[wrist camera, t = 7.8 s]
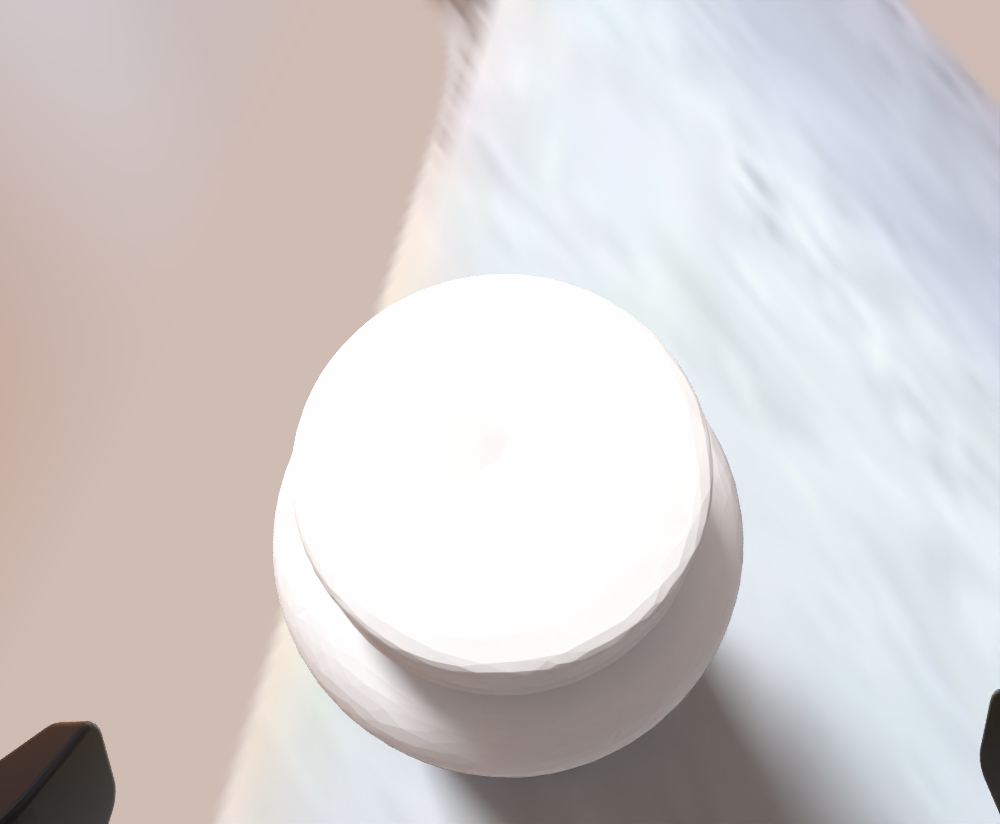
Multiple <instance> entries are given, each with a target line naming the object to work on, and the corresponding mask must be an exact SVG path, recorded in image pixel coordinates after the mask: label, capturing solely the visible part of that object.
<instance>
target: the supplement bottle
mask: <svg viewBox="0 0 1000 824" xmlns="http://www.w3.org/2000/svg"><path fill="white" fill-rule="evenodd" d="M273 555H274V556H273V557H274V572H275V580H276V587H277V591H278V596H279V600H280V604H281V607H282V611H283V614H284V618H285V621H286V623H287V626H288V629H289V632H290V634H291V636H292V638H293V640H294V642H295V645H296V647H297V649H298V652H299V654H300V655H301V657H302V658H303V660H304V661H305V663H306V665H307V667H308V668H309V670H310V671H311V673H312V674H313V676H314V677H315V679H316V680H317V682H318V683H319V684H320V686H321V687H322V688H323V689H324V691H325V692H326V693H327V694H328V695H329V696H330V697H331V698H332V699H333V701H334V702H335V703H336V704H337V705H338V706H339V707H340V708H341V709H342V710H343V711H344V712H345V713H346V714H347V715H348V716H349V717H350V718H351V719H352V720H354V721H355V722H356V723H357V724H359V725H360V726H361V727H362V728H364V729H365V730H366V731H367V732H369V733H370V734H372V735H374V736H375V737H377V738H378V739H380V740H381V741H383V742H384V743H386V744H387V745H389V746H391V747H393V748H395V749H397V750H399V751H400V752H402V753H404V754H406V755H408V756H411V757H413V758H415V759H418V760H420V761H422V762H425V763H428V764H431V765H434V766H437V767H440V768H443V769H447V770H452V771H456V772H461V773H465V774H472V775H481V776H489V777H512V778H522V777H532V776H539V775H546V774H553V773H556V772H560V771H564V770H568V769H572V768H576V767H579V766H582V765H585V764H588V763H591V762H594V761H596V760H598V759H600V758H603V757H605V756H607V755H609V754H611V753H613V752H615V751H617V750H619V749H621V748H623V747H625V746H626V745H628V744H630V743H632V742H633V741H635V740H636V739H637V738H639V737H640V736H642V735H643V734H644V733H646V732H647V731H649V730H650V729H651V728H653V727H654V726H655V725H656V724H658V723H659V722H660V721H661V720H662V719H663V718H664V717H666V716H667V715H668V714H669V713H670V712H671V711H672V710H673V709H674V708H675V707H676V706H677V705H678V704H679V703H680V702H681V701H682V700H683V699H684V697H685V696H686V695H687V694H688V693H689V692H690V690H691V689H692V688H693V687H694V686H695V684H696V683H697V682H698V680H699V679H700V678H701V676H702V675H703V673H704V672H705V670H706V668H707V667H708V665H709V664H710V662H711V661H712V659H713V657H714V655H715V653H716V651H717V649H718V647H719V645H720V643H721V641H722V639H723V637H724V635H725V632H726V630H727V627H728V624H729V621H730V619H731V615H732V612H733V609H734V606H735V603H736V599H737V594H738V590H739V585H740V578H741V571H742V564H743V528H742V516H741V510H740V505H739V499H738V494H737V489H736V484H735V481H734V478H733V475H732V472H731V469H730V467H729V464H728V461H727V458H726V456H725V454H724V452H723V449H722V447H721V445H720V443H719V441H718V439H717V437H716V435H715V434H714V432H713V430H712V428H711V426H710V425H709V423H708V422H707V420H706V419H705V416H704V414H703V411H702V409H701V406H700V404H699V401H698V399H697V396H696V394H695V391H694V390H693V388H692V386H691V384H690V382H689V380H688V378H687V376H686V375H685V373H684V372H683V370H682V369H681V367H680V366H679V364H678V362H677V361H676V359H675V358H674V356H673V355H672V354H671V353H670V352H669V351H668V350H667V348H666V347H665V346H664V345H663V344H662V343H661V341H660V340H659V339H658V338H657V337H656V336H655V334H653V333H652V332H651V331H650V330H649V329H647V328H646V327H645V326H644V325H643V324H642V323H640V322H639V321H638V320H637V319H635V318H634V317H633V316H631V315H630V314H628V313H627V312H625V311H624V310H623V309H621V308H620V307H618V306H617V305H615V304H613V303H612V302H610V301H608V300H606V299H604V298H602V297H600V296H598V295H597V294H594V293H592V292H589V291H587V290H584V289H582V288H579V287H576V286H573V285H570V284H566V283H563V282H560V281H556V280H553V279H547V278H541V277H534V276H527V275H505V274H495V275H483V276H475V277H468V278H462V279H457V280H453V281H449V282H445V283H442V284H439V285H436V286H433V287H430V288H427V289H423V290H420V291H418V292H416V293H414V294H412V295H410V296H408V297H406V298H404V299H402V300H400V301H399V302H397V303H395V304H393V305H391V306H389V307H388V308H387V309H385V310H384V311H382V312H381V313H379V314H378V315H376V316H375V317H374V318H372V319H371V320H370V321H368V322H367V323H366V324H365V325H364V326H363V327H361V328H360V329H359V330H358V331H357V332H356V333H355V334H354V335H353V336H352V337H351V338H350V339H349V340H348V341H347V342H346V343H345V344H344V345H343V346H342V347H341V348H340V349H339V351H338V352H337V353H336V354H335V355H334V357H333V358H332V359H331V361H330V362H329V363H328V365H327V366H326V367H325V369H324V370H323V372H322V373H321V375H320V377H319V379H318V381H317V382H316V384H315V386H314V388H313V389H312V391H311V394H310V396H309V398H308V400H307V403H306V405H305V408H304V410H303V414H302V416H301V419H300V423H299V425H298V429H297V433H296V438H295V443H294V448H293V454H292V456H291V459H290V462H289V464H288V466H287V469H286V473H285V476H284V479H283V482H282V486H281V489H280V493H279V498H278V503H277V509H276V514H275V522H274V540H273Z"/></svg>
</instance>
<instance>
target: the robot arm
mask: <svg viewBox="0 0 1000 824" xmlns="http://www.w3.org/2000/svg"><path fill="white" fill-rule="evenodd" d="M980 763H981V769H982V772H983V776H984V778H985V781H986V783H987V786H988V788H989V790H990V792H991V795H992V797H993V799H994V802H995V804H996V806H997V809H998V811H999V813H1000V689H998V690H996V691H995V692H994V694H993V695H992V697H991V700H990V704H989V709H988V714H987V719H986V724H985V729H984V733H983V738H982V743H981V748H980ZM115 792H116V790H115V781H114V777H113V773H112V769H111V766H110V762H109V759H108V755H107V751H106V748H105V744H104V740H103V737H102V733H101V731H100V728H99V727H98V726H97V725H96V724H95V723H93V722H89V721H80V722H59V723H54V724H52V725H50V726H48V727H47V728H45V729H44V730H42V731H41V732H39V733H38V734H36V735H35V736H34V737H32V738H31V739H29V740H28V741H27V742H25V743H24V744H22V745H21V746H19V747H18V748H17V749H15V750H14V751H12V752H11V753H10V754H8V755H7V756H5V757H4V758H3V759H1V760H0V824H109V821H110V817H111V814H112V811H113V807H114V802H115Z"/></svg>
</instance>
